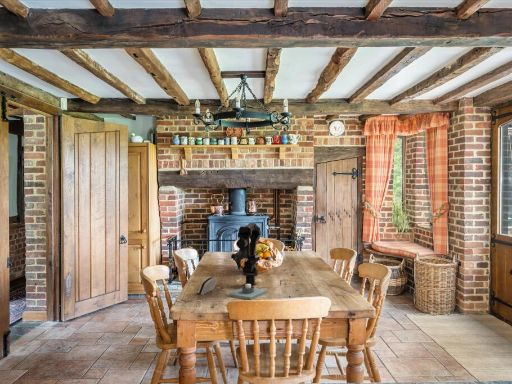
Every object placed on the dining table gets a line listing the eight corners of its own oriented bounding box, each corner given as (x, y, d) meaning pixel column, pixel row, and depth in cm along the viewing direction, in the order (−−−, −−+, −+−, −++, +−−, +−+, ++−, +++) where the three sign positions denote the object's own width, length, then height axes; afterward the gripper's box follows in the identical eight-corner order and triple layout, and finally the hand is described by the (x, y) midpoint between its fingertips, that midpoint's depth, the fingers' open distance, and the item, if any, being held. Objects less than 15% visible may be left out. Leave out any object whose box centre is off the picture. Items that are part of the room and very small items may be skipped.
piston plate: (245, 289, 260) (245, 279, 259) (266, 292, 251) (266, 283, 251) (228, 295, 244) (228, 286, 244) (250, 300, 236) (250, 289, 236)
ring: (246, 289, 253) (246, 285, 252) (256, 291, 249) (256, 286, 249) (239, 292, 247) (239, 287, 246) (249, 294, 243) (249, 289, 243)
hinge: (207, 287, 264) (212, 273, 263) (213, 290, 263) (218, 276, 261) (194, 294, 249) (199, 279, 247) (201, 297, 247) (206, 282, 246)
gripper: (225, 246, 257) (225, 271, 258) (250, 249, 247) (250, 274, 248) (235, 244, 267) (236, 268, 267) (260, 246, 257) (260, 271, 257)
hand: (245, 270), depth 259 cm, fingers open, 9 cm apart
